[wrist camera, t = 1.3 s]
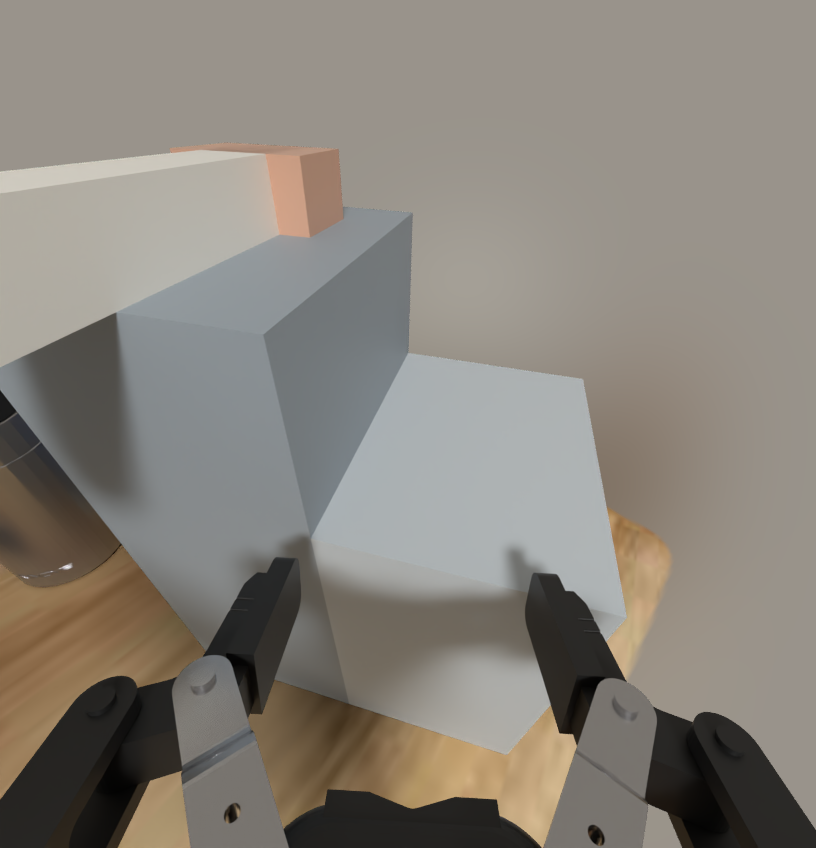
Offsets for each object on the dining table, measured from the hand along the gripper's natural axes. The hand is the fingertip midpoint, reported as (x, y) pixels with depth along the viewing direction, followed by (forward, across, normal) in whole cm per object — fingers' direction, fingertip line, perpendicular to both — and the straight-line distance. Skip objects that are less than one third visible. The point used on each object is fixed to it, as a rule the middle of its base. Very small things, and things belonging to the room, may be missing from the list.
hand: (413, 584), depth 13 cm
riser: (+17, +2, +19) cm, 25 cm away
